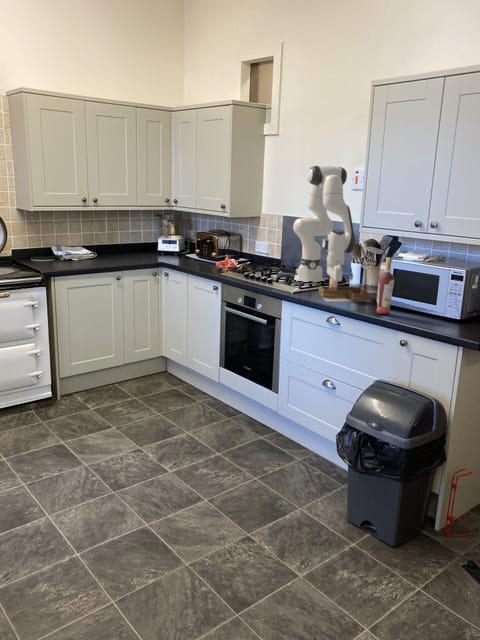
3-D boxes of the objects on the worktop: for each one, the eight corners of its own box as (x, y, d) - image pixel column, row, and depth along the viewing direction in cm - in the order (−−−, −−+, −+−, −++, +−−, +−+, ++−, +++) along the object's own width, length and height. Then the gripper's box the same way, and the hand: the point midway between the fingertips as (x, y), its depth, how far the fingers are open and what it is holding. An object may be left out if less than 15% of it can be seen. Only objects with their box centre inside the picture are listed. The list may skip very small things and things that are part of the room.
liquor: (383, 316, 261) (390, 259, 253) (371, 313, 266) (378, 257, 258) (393, 314, 265) (400, 258, 257) (381, 311, 270) (388, 256, 262)
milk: (377, 301, 290) (381, 260, 284) (388, 302, 288) (393, 262, 282) (375, 303, 284) (380, 262, 278) (387, 305, 282) (392, 263, 276)
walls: (318, 293, 298) (319, 286, 297) (360, 293, 300) (361, 286, 299) (325, 301, 282) (326, 293, 281) (370, 301, 284) (371, 294, 283)
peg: (335, 292, 296) (336, 278, 294) (337, 294, 292) (338, 279, 290) (328, 292, 296) (329, 277, 293) (329, 293, 292) (331, 279, 289)
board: (318, 295, 299) (318, 293, 298) (362, 295, 301) (362, 293, 301) (325, 302, 282) (325, 301, 282) (371, 303, 285) (372, 301, 284)
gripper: (346, 264, 279) (343, 290, 283) (336, 257, 298) (334, 281, 302) (334, 264, 278) (332, 290, 282) (325, 257, 298) (323, 281, 302)
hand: (333, 285), depth 293 cm, fingers closed on peg, 4 cm apart
